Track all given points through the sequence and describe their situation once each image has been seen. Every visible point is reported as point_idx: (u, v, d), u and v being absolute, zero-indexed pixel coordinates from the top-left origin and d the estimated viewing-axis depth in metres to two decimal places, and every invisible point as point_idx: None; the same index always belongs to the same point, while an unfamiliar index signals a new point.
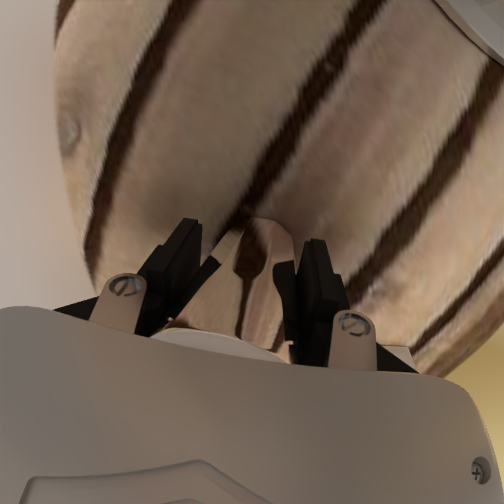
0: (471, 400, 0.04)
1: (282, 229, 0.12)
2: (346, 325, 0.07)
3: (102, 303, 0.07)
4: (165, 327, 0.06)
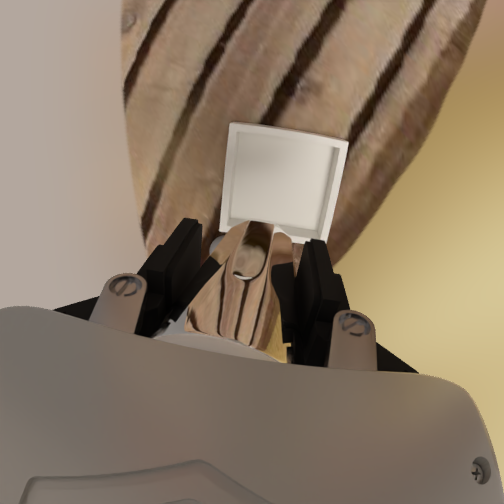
0: (471, 400, 0.04)
1: (281, 231, 0.12)
2: (346, 325, 0.07)
3: (102, 303, 0.07)
4: (164, 330, 0.06)
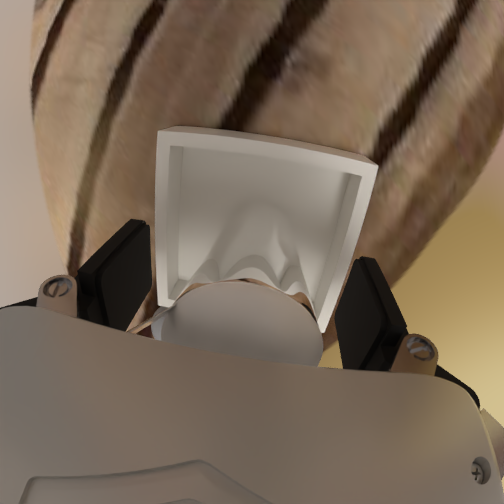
0: (471, 400, 0.04)
1: (280, 211, 0.14)
2: (413, 348, 0.07)
3: (41, 307, 0.06)
4: (198, 283, 0.07)
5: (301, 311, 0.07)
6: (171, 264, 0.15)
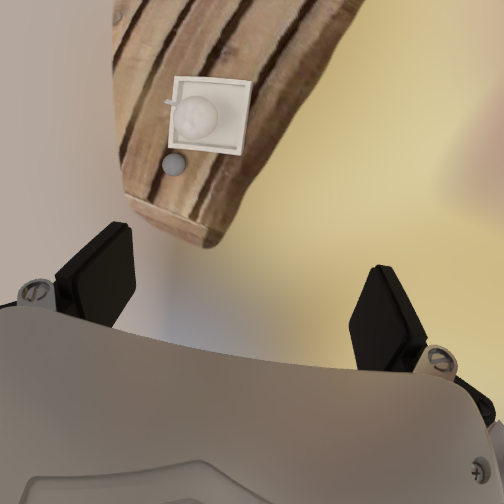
0: (471, 400, 0.04)
1: None
2: (433, 358, 0.06)
3: None
4: None
5: (209, 100, 0.25)
6: (175, 129, 0.33)
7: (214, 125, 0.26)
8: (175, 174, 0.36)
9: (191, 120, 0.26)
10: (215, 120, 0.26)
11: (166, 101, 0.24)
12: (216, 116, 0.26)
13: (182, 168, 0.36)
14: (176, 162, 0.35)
